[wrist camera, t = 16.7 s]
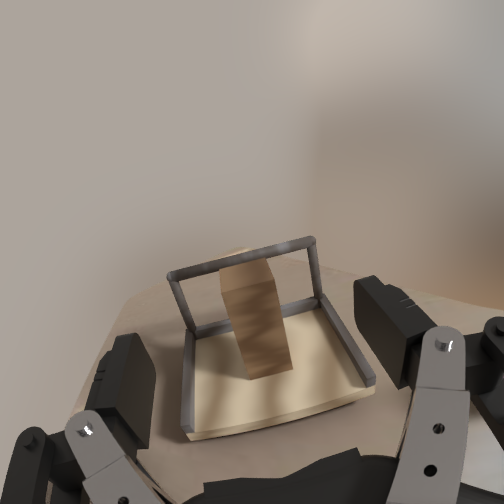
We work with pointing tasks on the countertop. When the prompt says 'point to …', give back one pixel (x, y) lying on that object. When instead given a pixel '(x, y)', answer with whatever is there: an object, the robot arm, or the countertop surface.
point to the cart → (274, 386)
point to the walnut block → (256, 317)
